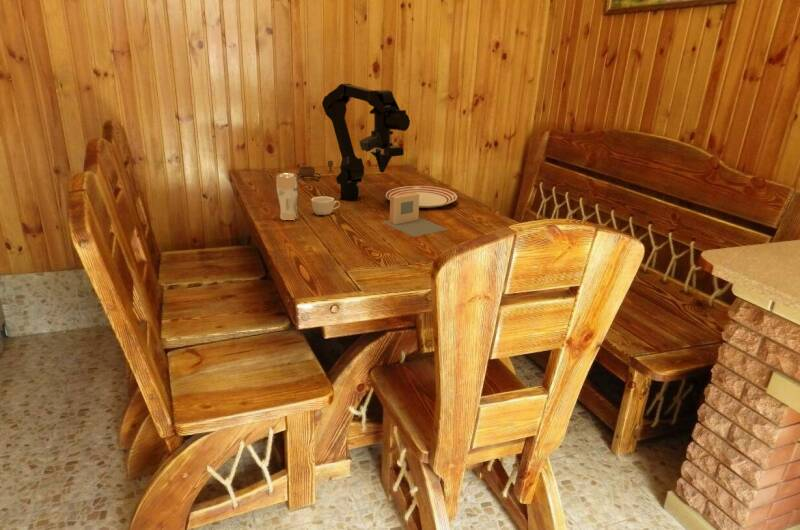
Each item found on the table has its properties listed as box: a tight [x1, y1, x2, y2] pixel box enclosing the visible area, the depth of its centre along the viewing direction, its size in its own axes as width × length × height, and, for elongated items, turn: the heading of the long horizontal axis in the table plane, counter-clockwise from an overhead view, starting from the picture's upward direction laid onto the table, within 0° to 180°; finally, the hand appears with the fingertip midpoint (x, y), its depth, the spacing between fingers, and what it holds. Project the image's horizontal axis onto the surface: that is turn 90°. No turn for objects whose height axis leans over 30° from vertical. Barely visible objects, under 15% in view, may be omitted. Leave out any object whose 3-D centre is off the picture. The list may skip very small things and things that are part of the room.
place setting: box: [295, 160, 334, 181], centre depth 242 cm, size 18×20×6 cm
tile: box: [389, 192, 420, 224], centre depth 180 cm, size 3×10×9 cm, turn 126°
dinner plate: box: [385, 185, 458, 209], centre depth 206 cm, size 27×27×3 cm
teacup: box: [310, 195, 341, 216], centre depth 188 cm, size 10×8×5 cm
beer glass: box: [275, 172, 299, 221], centre depth 180 cm, size 7×7×15 cm
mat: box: [382, 216, 449, 238], centre depth 177 cm, size 18×14×1 cm
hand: (381, 172), depth 194 cm, fingers closed
